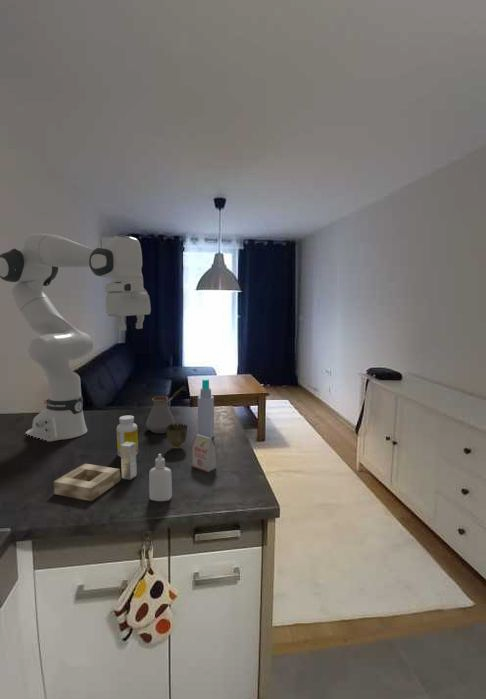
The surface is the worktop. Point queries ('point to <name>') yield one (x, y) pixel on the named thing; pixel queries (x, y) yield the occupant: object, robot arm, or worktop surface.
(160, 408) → the coffee pot
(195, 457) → the white and red box
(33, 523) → the worktop surface
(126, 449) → the metal peg
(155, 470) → the eye dropper bottle
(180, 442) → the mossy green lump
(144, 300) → the robot arm
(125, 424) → the supplement bottle
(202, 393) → the spray bottle
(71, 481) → the tan square ring
